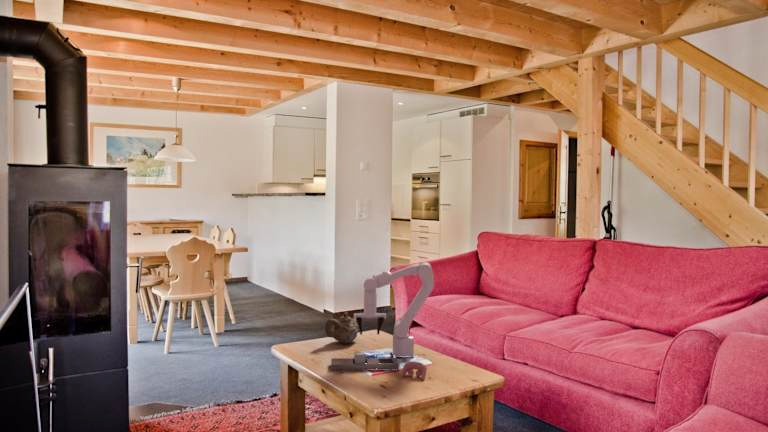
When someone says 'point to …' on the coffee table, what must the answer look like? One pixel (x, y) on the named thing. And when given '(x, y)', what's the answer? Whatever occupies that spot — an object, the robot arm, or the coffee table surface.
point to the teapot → (342, 329)
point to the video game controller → (414, 365)
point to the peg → (359, 357)
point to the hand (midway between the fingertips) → (369, 334)
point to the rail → (372, 363)
